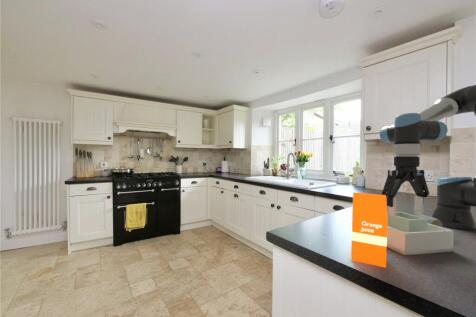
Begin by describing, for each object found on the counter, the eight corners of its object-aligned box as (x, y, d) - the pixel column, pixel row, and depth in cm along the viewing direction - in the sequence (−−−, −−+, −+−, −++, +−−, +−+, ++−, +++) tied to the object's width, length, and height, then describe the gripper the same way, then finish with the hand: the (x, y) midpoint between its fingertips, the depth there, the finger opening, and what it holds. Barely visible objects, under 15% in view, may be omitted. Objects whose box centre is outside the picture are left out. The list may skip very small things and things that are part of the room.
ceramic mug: (432, 237, 85) (433, 218, 85) (409, 230, 93) (410, 213, 93) (448, 235, 89) (449, 217, 89) (426, 229, 96) (426, 212, 96)
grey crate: (402, 232, 91) (403, 216, 90) (453, 251, 73) (453, 230, 73) (361, 234, 87) (362, 217, 86) (404, 255, 69) (405, 233, 69)
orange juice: (350, 250, 72) (352, 190, 71) (382, 256, 68) (384, 193, 67) (351, 260, 65) (353, 194, 64) (386, 268, 61) (388, 197, 60)
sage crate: (400, 234, 85) (400, 211, 85) (426, 244, 76) (427, 219, 76) (383, 235, 84) (383, 212, 84) (408, 245, 74) (408, 219, 74)
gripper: (421, 156, 85) (420, 210, 86) (370, 155, 81) (369, 213, 81) (443, 156, 78) (441, 215, 78) (388, 155, 73) (387, 219, 74)
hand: (405, 214), depth 80 cm, fingers open, 11 cm apart
